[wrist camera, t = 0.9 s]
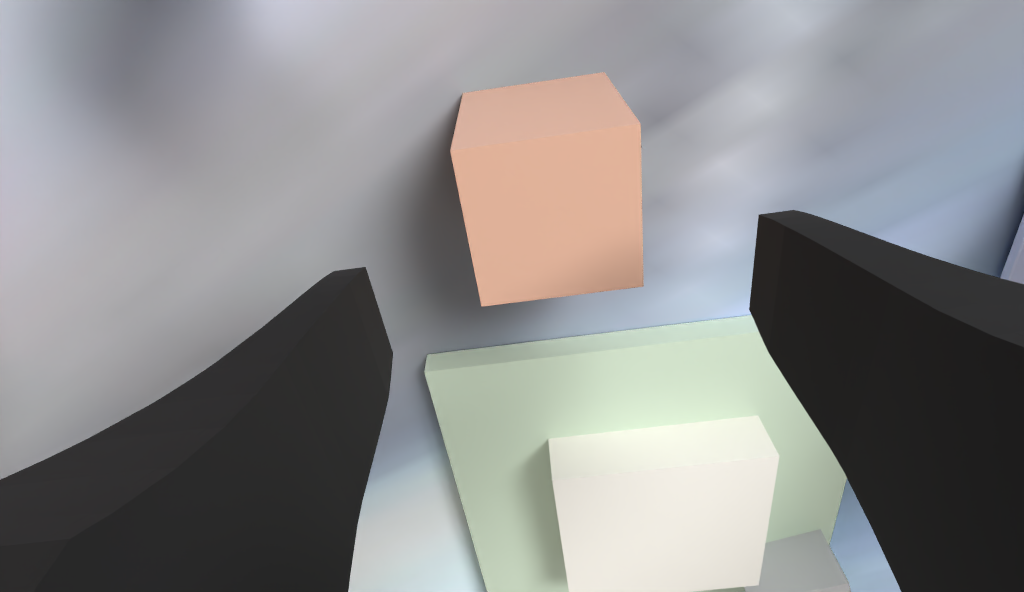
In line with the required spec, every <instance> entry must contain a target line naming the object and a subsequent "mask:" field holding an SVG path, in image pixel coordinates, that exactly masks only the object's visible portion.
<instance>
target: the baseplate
mask: <svg viewBox="0 0 1024 592" xmlns="http://www.w3.org/2000/svg"><path fill="white" fill-rule="evenodd" d="M424 373H425V376H426V380H427V383H428V387H429V390H430V394H431V397H432V401H433V404H434V408H435V411H436V415H437V418H438V422H439V425H440V429H441V432H442V436H443V439H444V443H445V446H446V450H447V453H448V457H449V460H450V464H451V467H452V471H453V474H454V478H455V481H456V485H457V488H458V492H459V495H460V499H461V502H462V506H463V509H464V513H465V516H466V520H467V523H468V527H469V530H470V534H471V537H472V541H473V544H474V548H475V551H476V555H477V558H478V562H479V565H480V569H481V572H482V576H483V579H484V583H485V586H486V590H487V592H569V589H568V582H567V575H566V569H565V562H564V555H563V549H562V542H561V536H560V529H559V522H558V516H557V509H556V502H555V496H554V489H553V482H552V473H551V463H550V452H549V442H548V439H551V438H560V437H569V436H578V435H587V434H595V433H604V432H613V431H622V430H631V429H640V428H649V427H658V426H667V425H676V424H685V423H694V422H703V421H712V420H721V419H730V418H739V417H748V416H757V415H758V416H759V418H760V420H761V422H762V424H763V426H764V428H765V430H766V431H767V433H768V435H769V437H770V439H771V441H772V443H773V445H774V447H775V448H776V450H777V452H778V454H779V462H778V469H777V475H776V481H775V487H774V493H773V500H772V506H771V512H770V518H769V524H768V531H767V537H766V543H767V542H771V541H775V540H779V539H783V538H787V537H791V536H795V535H799V534H803V533H807V532H811V531H815V530H819V529H821V531H822V533H823V535H824V537H825V539H826V541H827V542H828V544H829V545H830V541H831V537H832V533H833V529H834V525H835V522H836V518H837V514H838V510H839V506H840V502H841V499H842V495H843V491H844V487H845V483H846V479H847V477H846V475H845V473H844V471H843V469H842V468H841V466H840V464H839V463H838V461H837V459H836V457H835V456H834V454H833V452H832V451H831V449H830V447H829V446H828V444H827V443H826V441H825V440H824V438H823V437H822V435H821V434H820V432H819V430H818V429H817V427H816V426H815V424H814V423H813V421H812V420H811V418H810V417H809V415H808V414H807V412H806V411H805V409H804V407H803V406H802V404H801V403H800V401H799V400H798V398H797V397H796V395H795V394H794V392H793V391H792V389H791V388H790V386H789V384H788V383H787V381H786V380H785V378H784V377H783V375H782V373H781V372H780V370H779V369H778V367H777V366H776V364H775V362H774V361H773V359H772V357H771V356H770V354H769V353H768V350H767V348H766V346H765V344H764V342H763V340H762V338H761V335H760V333H759V331H758V329H757V326H756V324H755V321H754V319H753V317H752V315H748V316H740V317H732V318H723V319H715V320H707V321H699V322H690V323H682V324H674V325H666V326H658V327H649V328H641V329H633V330H625V331H616V332H608V333H600V334H592V335H584V336H575V337H567V338H559V339H551V340H542V341H534V342H526V343H518V344H510V345H501V346H493V347H485V348H477V349H468V350H460V351H452V352H444V353H436V354H427V359H426V365H425V371H424ZM744 591H745V589H744V587H735V588H725V589H714V590H704V591H693V592H744Z"/></svg>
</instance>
